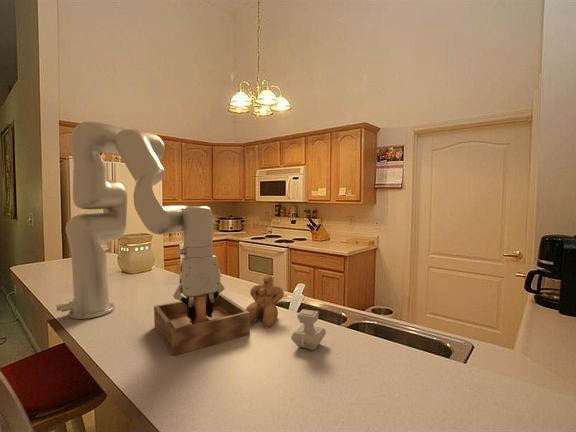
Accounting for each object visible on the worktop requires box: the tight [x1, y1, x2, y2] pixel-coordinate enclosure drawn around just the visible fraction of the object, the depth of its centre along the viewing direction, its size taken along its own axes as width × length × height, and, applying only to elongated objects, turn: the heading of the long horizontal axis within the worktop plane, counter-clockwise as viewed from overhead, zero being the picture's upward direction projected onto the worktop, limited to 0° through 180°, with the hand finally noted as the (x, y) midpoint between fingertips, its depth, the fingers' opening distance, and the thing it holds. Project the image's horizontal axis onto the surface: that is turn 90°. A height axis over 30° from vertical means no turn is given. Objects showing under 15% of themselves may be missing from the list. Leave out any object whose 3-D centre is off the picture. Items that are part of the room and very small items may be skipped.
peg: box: [194, 294, 207, 324], centre depth 88 cm, size 3×3×10 cm
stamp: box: [290, 308, 327, 351], centre depth 79 cm, size 9×7×8 cm
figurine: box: [245, 274, 285, 329], centre depth 96 cm, size 11×9×15 cm
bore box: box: [153, 293, 251, 357], centre depth 88 cm, size 20×20×6 cm
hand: (200, 317), depth 88 cm, fingers open, 4 cm apart
